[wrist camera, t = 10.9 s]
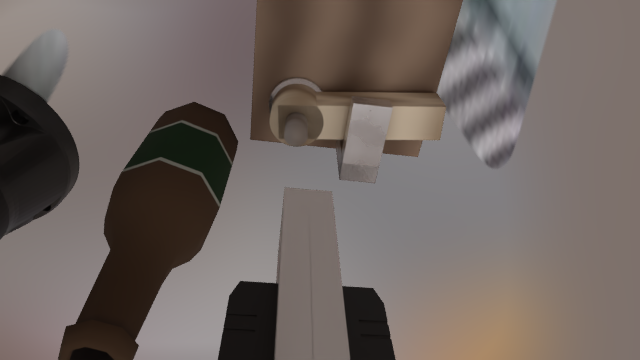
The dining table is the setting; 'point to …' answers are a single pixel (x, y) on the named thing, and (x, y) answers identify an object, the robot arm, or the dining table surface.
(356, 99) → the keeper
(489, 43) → the dining table surface
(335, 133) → the link
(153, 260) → the beer bottle
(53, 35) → the dining table surface
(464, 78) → the dining table surface
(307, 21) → the base plate
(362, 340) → the robot arm
